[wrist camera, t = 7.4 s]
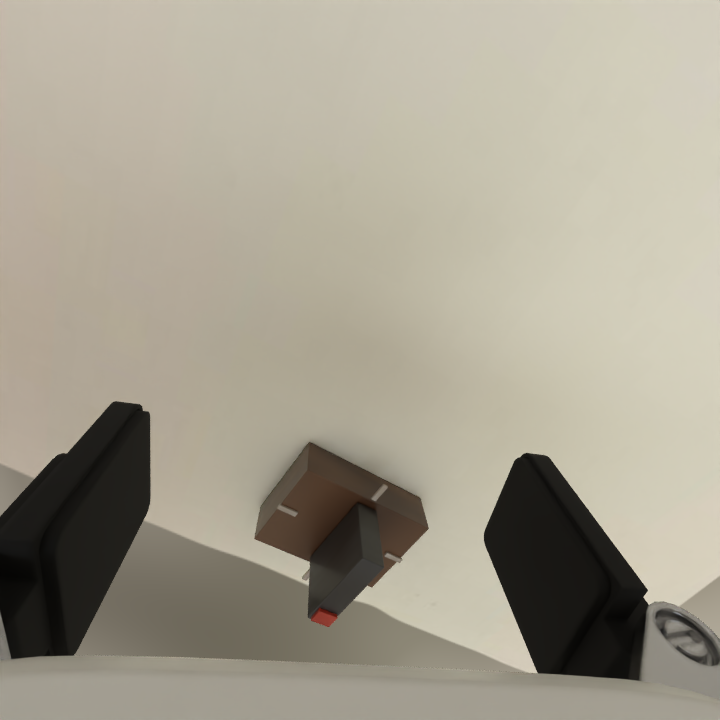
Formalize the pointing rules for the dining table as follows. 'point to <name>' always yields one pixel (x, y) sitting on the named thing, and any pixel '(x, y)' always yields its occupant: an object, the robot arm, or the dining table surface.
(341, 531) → the bar knob
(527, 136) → the dining table surface
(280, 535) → the knob base block
